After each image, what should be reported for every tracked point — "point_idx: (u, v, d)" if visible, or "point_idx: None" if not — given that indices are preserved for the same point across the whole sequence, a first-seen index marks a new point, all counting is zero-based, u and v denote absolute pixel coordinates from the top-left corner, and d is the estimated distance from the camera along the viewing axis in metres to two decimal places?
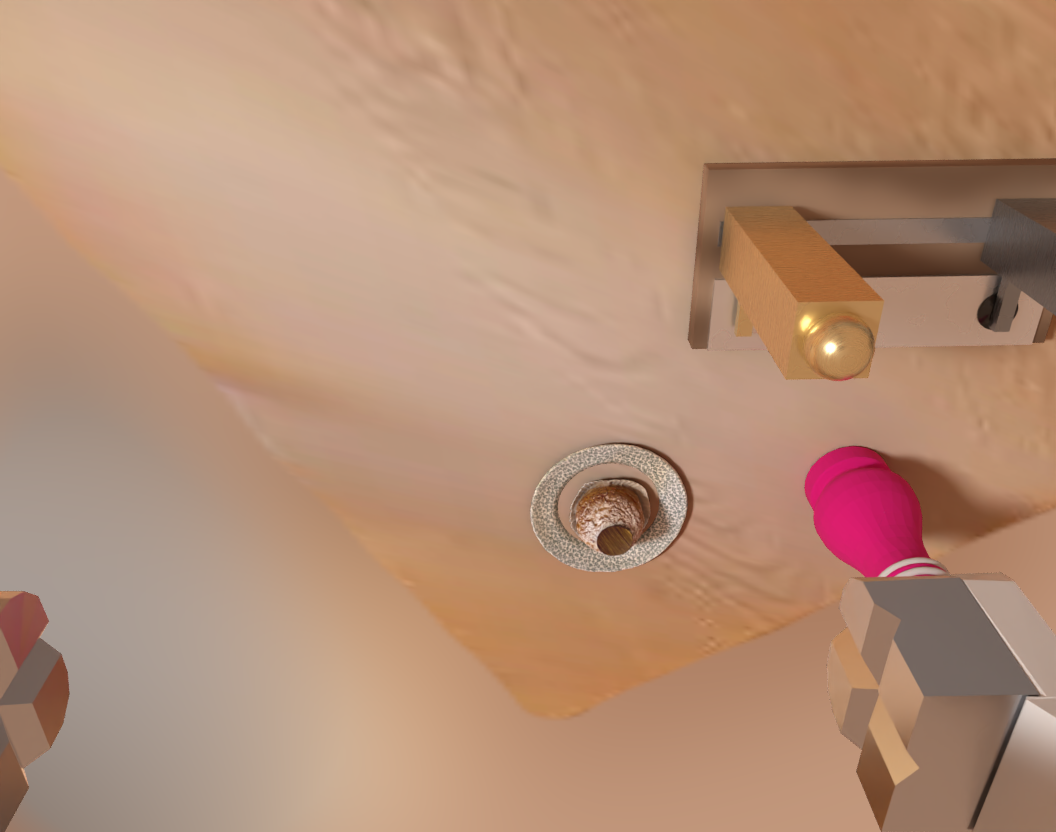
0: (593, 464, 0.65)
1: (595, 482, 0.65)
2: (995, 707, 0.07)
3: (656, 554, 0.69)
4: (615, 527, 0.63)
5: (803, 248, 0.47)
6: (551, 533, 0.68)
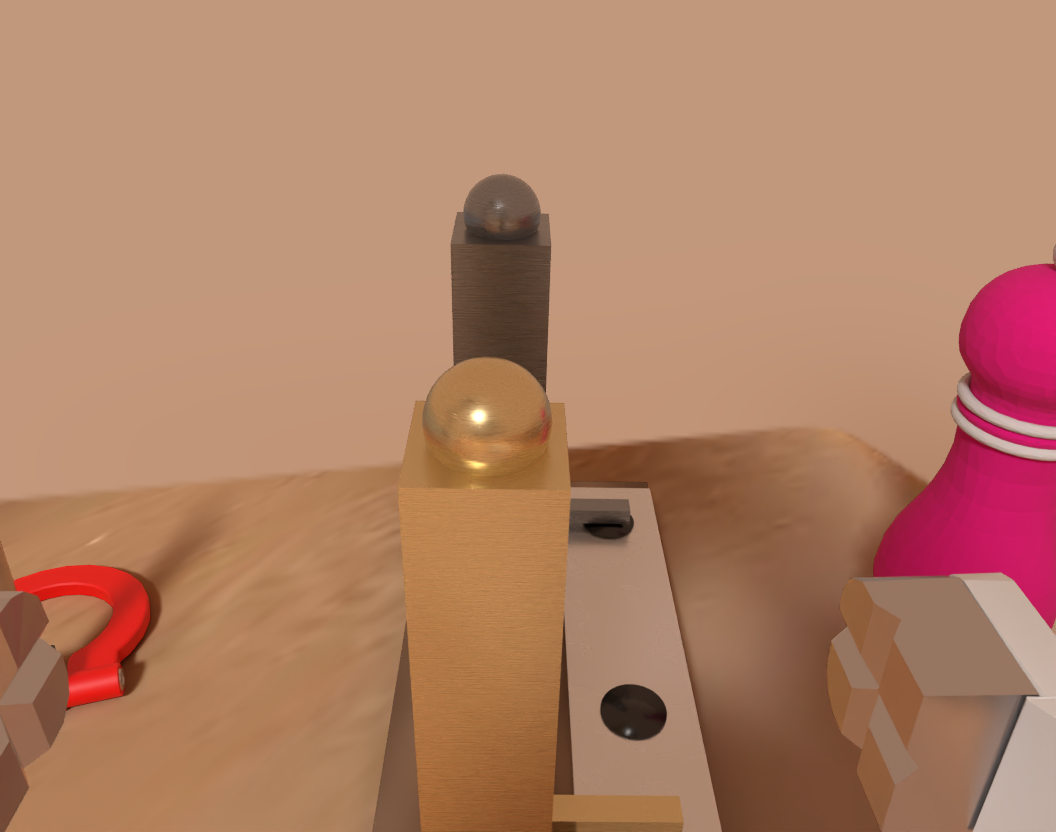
0: None
1: None
2: (995, 707, 0.07)
3: None
4: None
5: None
6: None
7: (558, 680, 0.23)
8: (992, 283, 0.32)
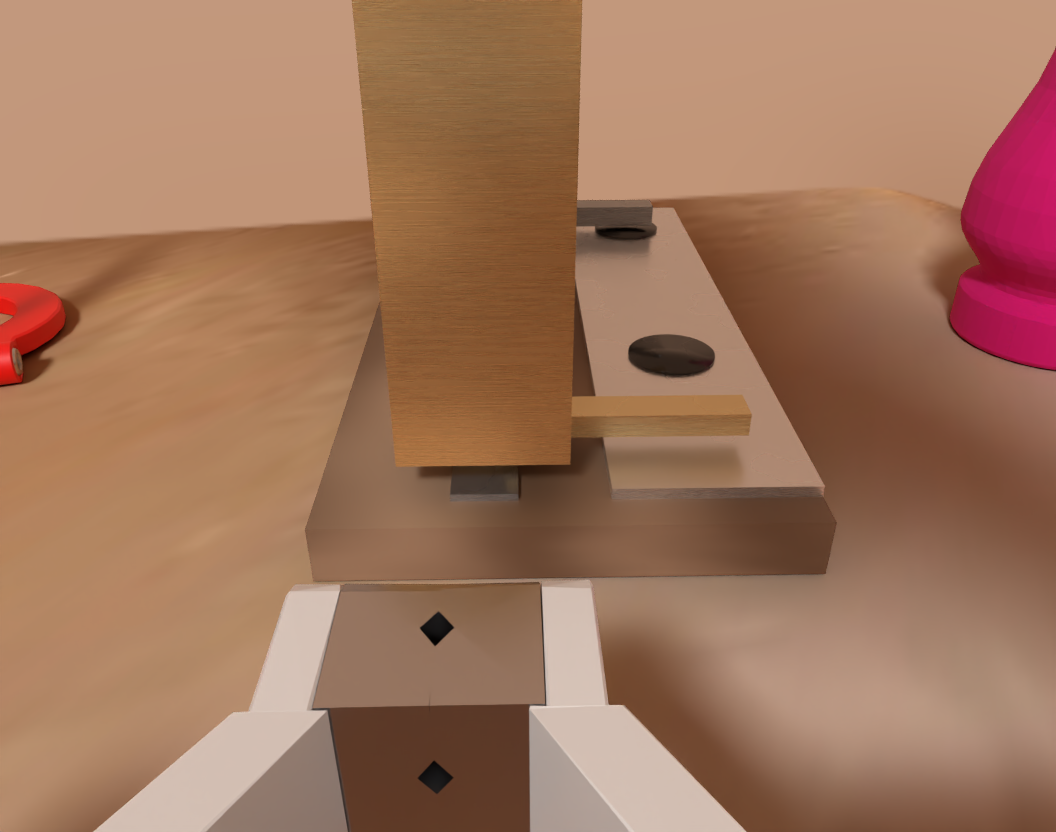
0: None
1: None
2: (507, 716, 0.07)
3: None
4: None
5: None
6: None
7: (578, 59, 0.16)
8: None
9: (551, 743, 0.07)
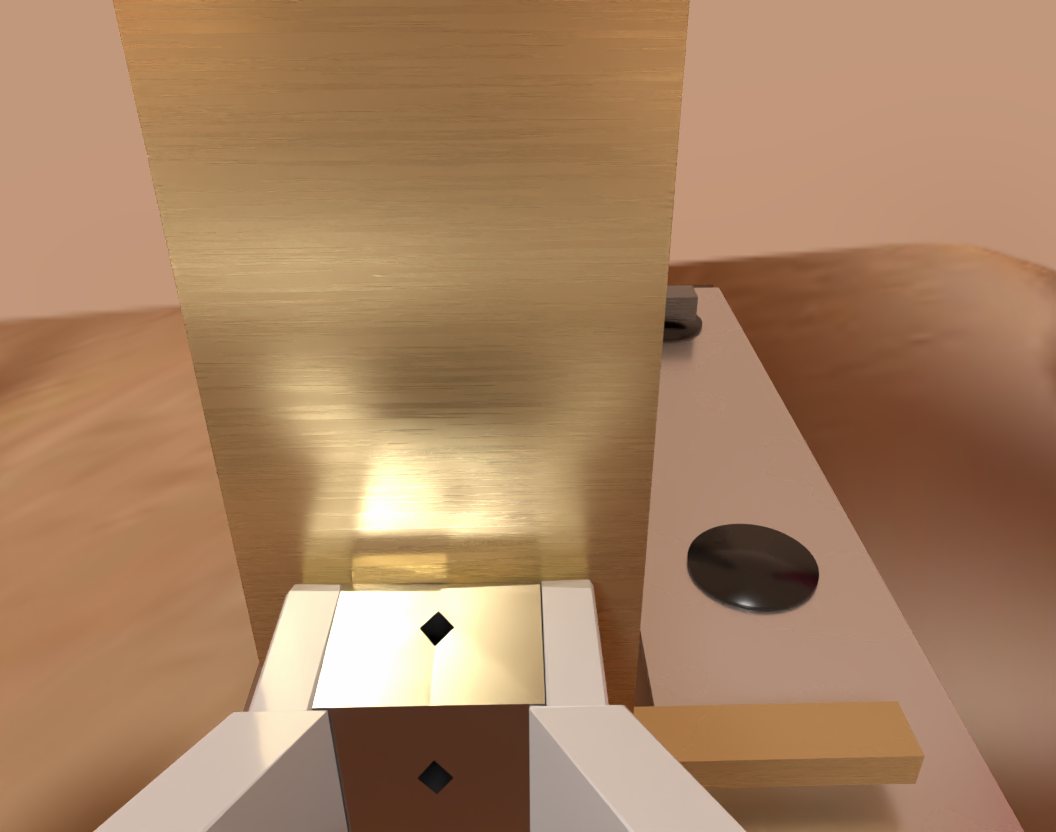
0: None
1: None
2: (507, 716, 0.07)
3: None
4: None
5: None
6: None
7: (666, 225, 0.07)
8: None
9: (551, 743, 0.07)
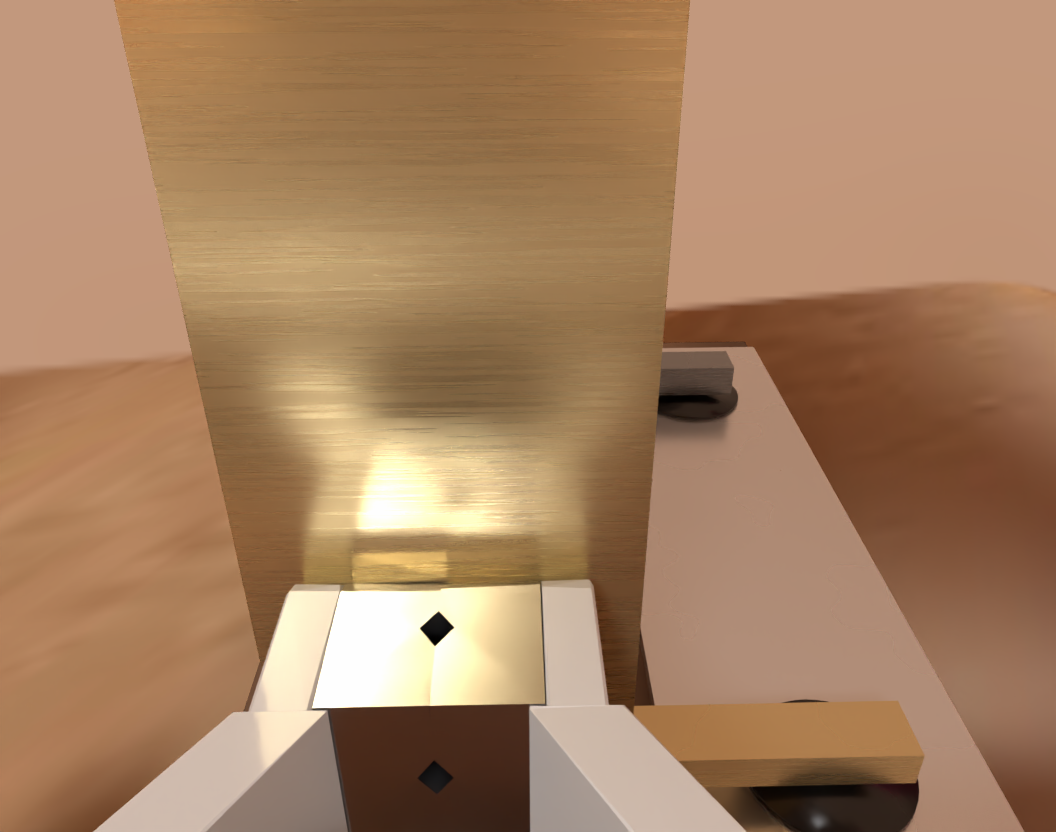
0: None
1: None
2: (507, 716, 0.07)
3: None
4: None
5: None
6: None
7: (666, 225, 0.07)
8: None
9: (551, 742, 0.07)
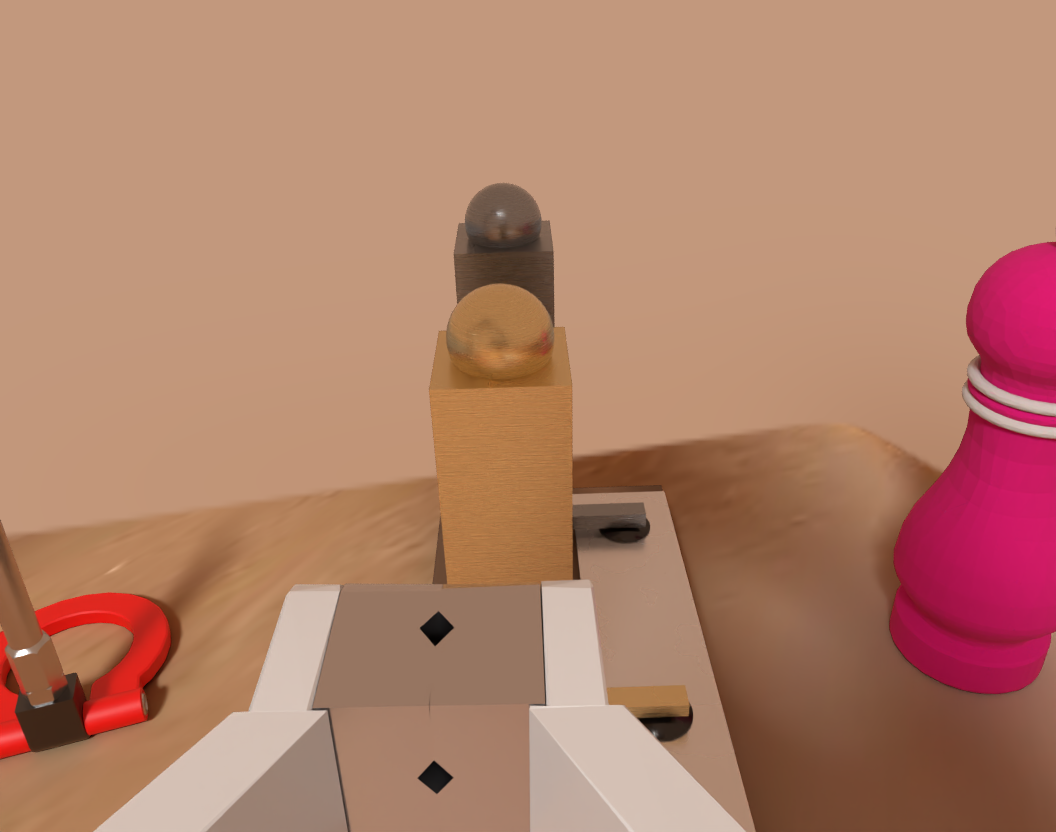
0: None
1: None
2: (507, 716, 0.07)
3: None
4: None
5: None
6: None
7: (571, 561, 0.28)
8: (996, 264, 0.32)
9: (551, 743, 0.07)
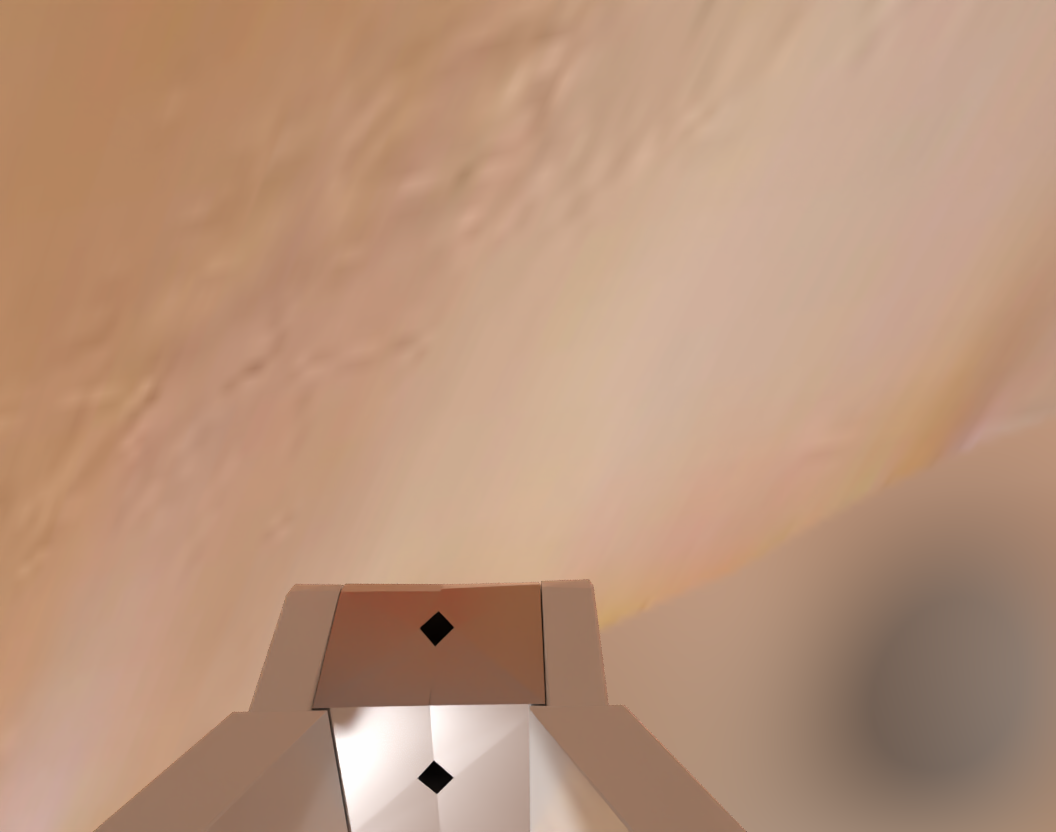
0: None
1: None
2: (507, 716, 0.07)
3: None
4: None
5: None
6: None
7: None
8: None
9: (551, 742, 0.07)
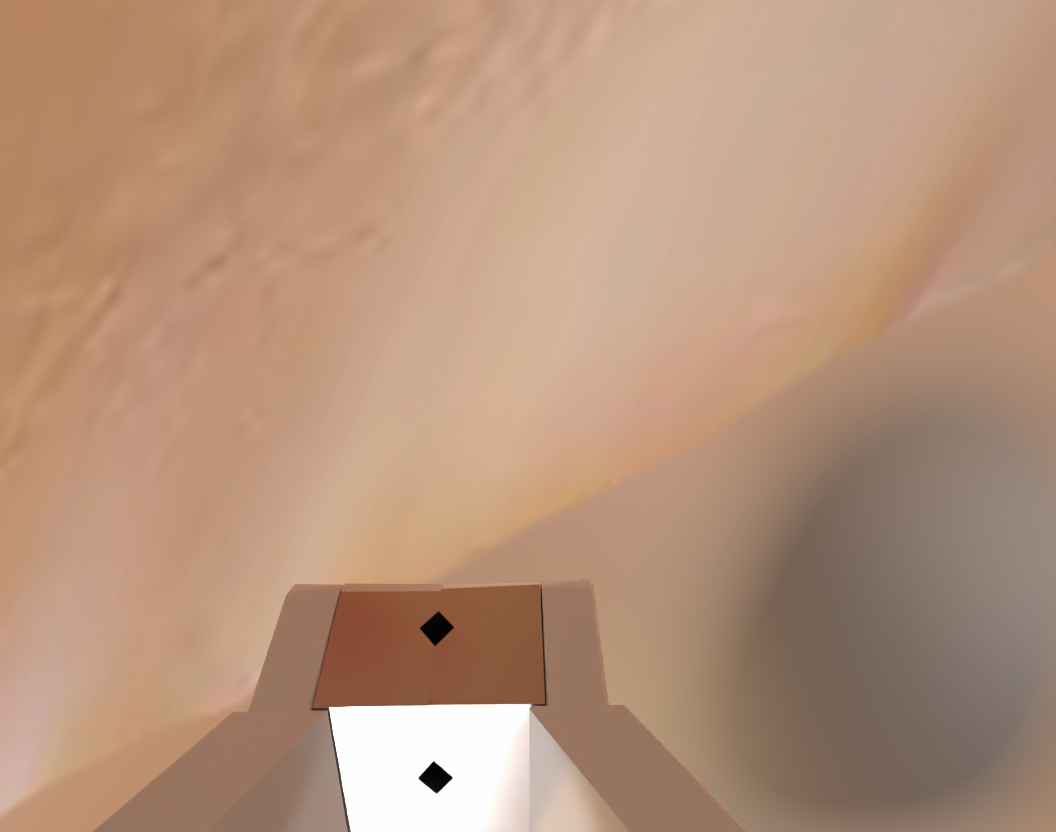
0: None
1: None
2: (507, 717, 0.07)
3: None
4: None
5: None
6: None
7: None
8: None
9: (551, 743, 0.07)
